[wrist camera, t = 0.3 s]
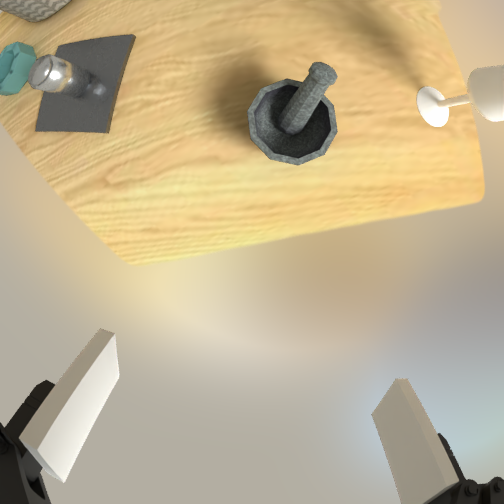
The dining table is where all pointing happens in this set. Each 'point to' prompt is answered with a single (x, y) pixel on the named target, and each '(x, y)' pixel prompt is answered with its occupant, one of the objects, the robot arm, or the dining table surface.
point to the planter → (32, 8)
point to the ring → (15, 67)
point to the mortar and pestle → (295, 117)
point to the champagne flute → (467, 97)
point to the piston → (80, 84)
